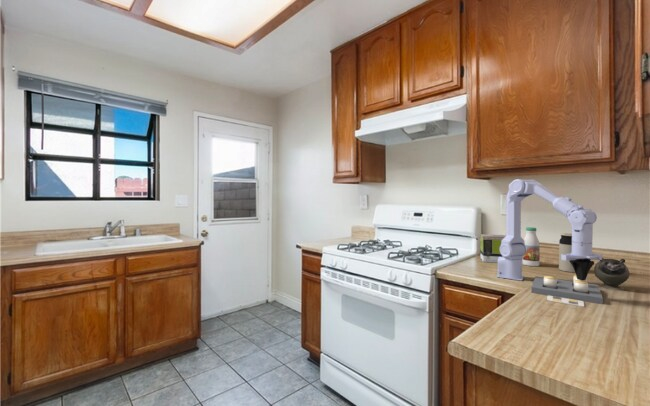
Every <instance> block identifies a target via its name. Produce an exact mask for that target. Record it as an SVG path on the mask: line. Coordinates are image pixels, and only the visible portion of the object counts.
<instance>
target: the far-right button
mask: <svg viewBox="0 0 650 406" xmlns="http://www.w3.org/2000/svg"><path fill="white" fill-rule="evenodd" d="M572 280H573V284H574V281H575V280H579V279H577V277H576V274H574V275H573V279H572ZM583 281H587V282H588V278H587V277H586V280H583Z"/></svg>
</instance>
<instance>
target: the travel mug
mask: <svg viewBox="0 0 650 406" xmlns="http://www.w3.org/2000/svg"><path fill="white" fill-rule="evenodd" d="M559 235H560V239H559V243H558V244H559V245H558V247H559V249H558V251H559V252H558V253H559V254H558V270H560V271H562V272H567V273H575V270H574V268H573V266H572V264H571V263H570V262H569V260H568V261H565V260H561V254H570V253H572V233H566V232H565V233H560V234H559Z"/></svg>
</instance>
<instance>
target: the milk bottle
mask: <svg viewBox="0 0 650 406" xmlns="http://www.w3.org/2000/svg"><path fill="white" fill-rule="evenodd" d="M525 233H526V234H525V236H524V237H523V238H522V239H523V240H524V241H525V246H526V249H527V252H526V254H525V255H524V256H523V258H522V266H523V265H524V266H528V267H540V253H541V252H540V250H541V249H540V241H539V239H538V236H537V228H536V227H529V226H528V227H525Z"/></svg>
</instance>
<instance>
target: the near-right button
mask: <svg viewBox="0 0 650 406" xmlns="http://www.w3.org/2000/svg"><path fill="white" fill-rule="evenodd" d="M588 284H589V282H588V280H587V281H582V280H575V281H574V290H575V291H579V292H588Z"/></svg>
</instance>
